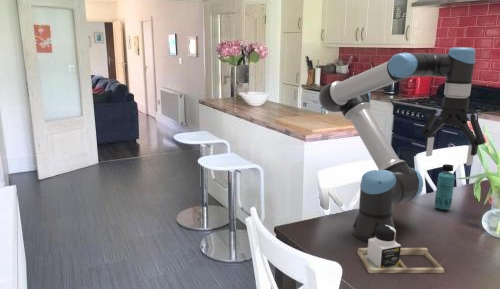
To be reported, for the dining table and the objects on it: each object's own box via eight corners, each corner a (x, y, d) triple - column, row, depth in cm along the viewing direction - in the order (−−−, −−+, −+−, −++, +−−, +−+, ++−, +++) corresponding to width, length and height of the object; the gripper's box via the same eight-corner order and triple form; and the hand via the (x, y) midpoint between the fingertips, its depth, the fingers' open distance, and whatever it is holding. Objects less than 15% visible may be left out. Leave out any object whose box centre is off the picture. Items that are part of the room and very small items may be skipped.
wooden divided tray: (368, 273, 121) (369, 267, 120) (357, 253, 133) (357, 247, 132) (443, 272, 121) (444, 267, 121) (425, 253, 133) (426, 247, 133)
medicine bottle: (380, 269, 122) (383, 233, 119) (366, 258, 129) (369, 224, 126) (399, 265, 125) (403, 230, 122) (384, 255, 131) (387, 221, 128)
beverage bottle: (431, 206, 174) (437, 162, 169) (447, 207, 173) (453, 163, 169) (436, 212, 168) (442, 166, 163) (453, 213, 167) (459, 167, 162)
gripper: (503, 99, 121) (493, 166, 125) (426, 92, 140) (419, 150, 145) (493, 101, 116) (482, 170, 121) (414, 93, 135) (407, 153, 140)
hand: (448, 160), depth 133 cm, fingers open, 13 cm apart
